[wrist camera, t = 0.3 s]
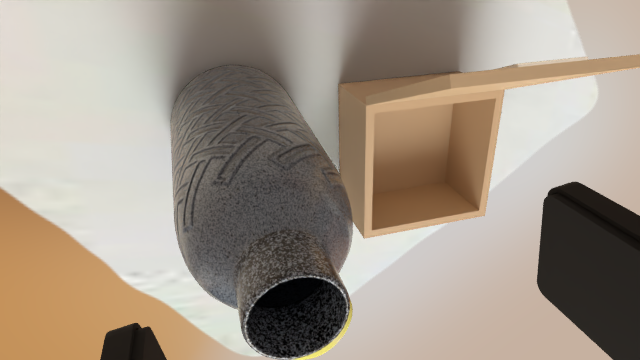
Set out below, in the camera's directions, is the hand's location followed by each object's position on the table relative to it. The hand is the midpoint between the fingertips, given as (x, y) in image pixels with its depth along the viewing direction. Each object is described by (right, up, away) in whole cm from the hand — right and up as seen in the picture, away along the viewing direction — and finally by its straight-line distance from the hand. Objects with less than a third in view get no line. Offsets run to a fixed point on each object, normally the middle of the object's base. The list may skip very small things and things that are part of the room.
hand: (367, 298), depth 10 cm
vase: (-10, +8, +35) cm, 37 cm away
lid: (+11, +10, +23) cm, 28 cm away
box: (+8, +7, +40) cm, 42 cm away
